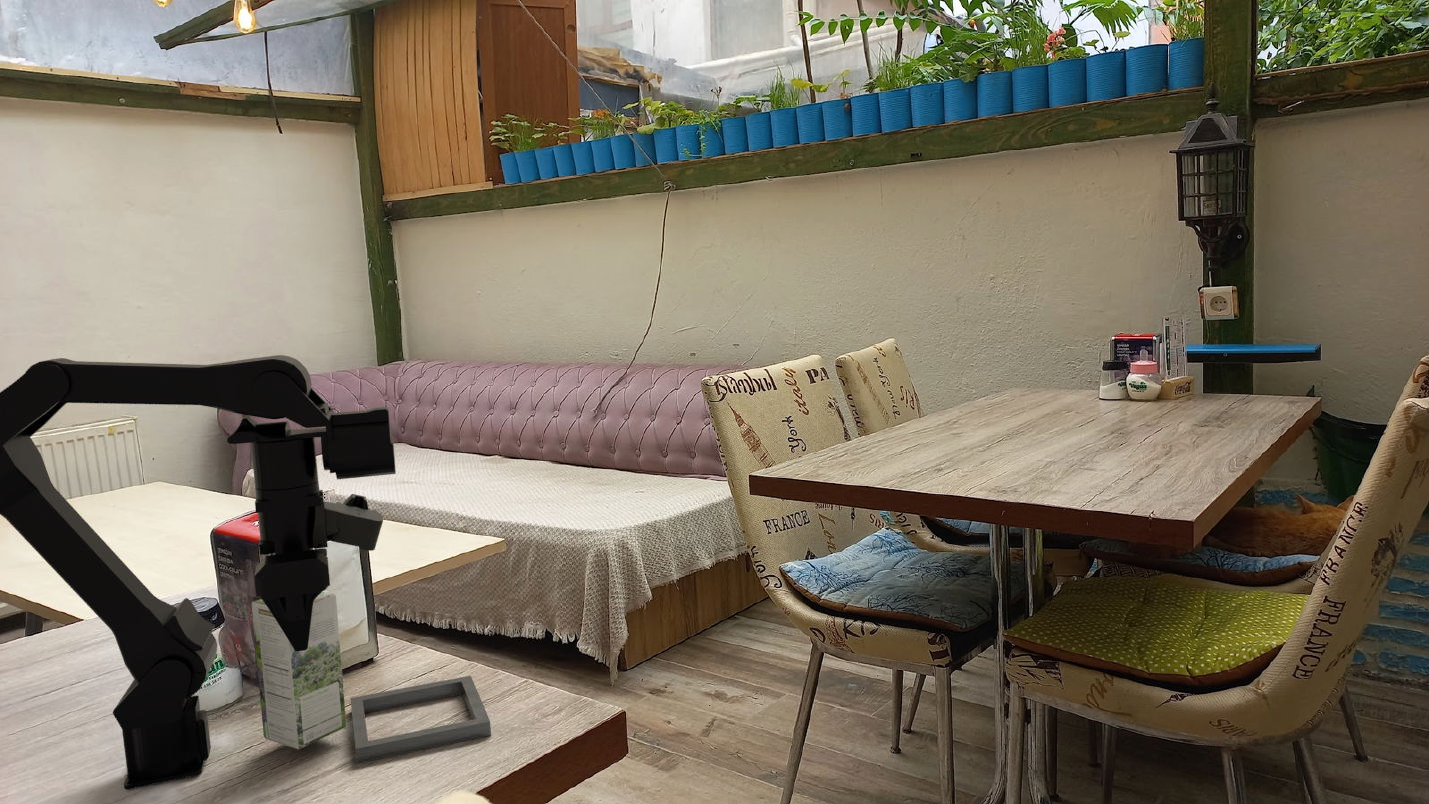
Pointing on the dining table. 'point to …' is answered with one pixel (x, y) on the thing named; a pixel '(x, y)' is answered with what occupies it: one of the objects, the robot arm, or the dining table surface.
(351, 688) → the dining table surface
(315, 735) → the syrup box
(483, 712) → the collar socket
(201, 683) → the robot arm
